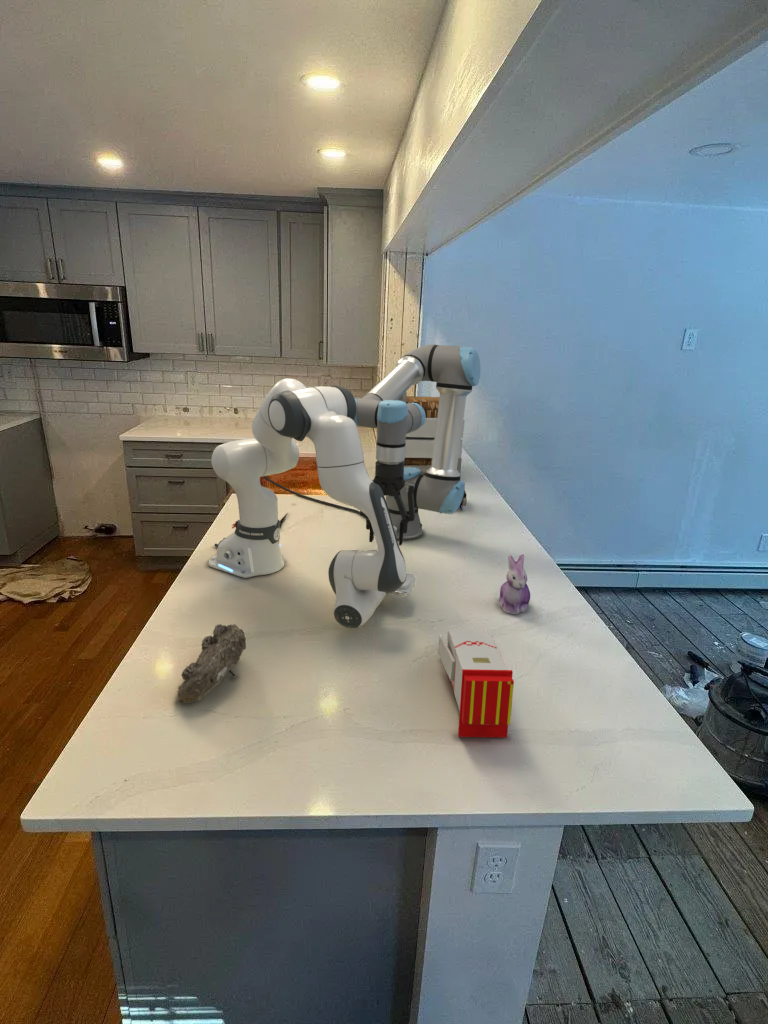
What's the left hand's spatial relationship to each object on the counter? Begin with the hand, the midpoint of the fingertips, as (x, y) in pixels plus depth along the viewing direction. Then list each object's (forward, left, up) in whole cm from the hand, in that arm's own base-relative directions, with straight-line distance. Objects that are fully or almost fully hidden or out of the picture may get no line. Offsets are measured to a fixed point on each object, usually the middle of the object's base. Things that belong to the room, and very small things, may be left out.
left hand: (385, 567), depth 159 cm
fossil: (-21, -52, -6) cm, 56 cm away
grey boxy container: (-21, +120, -6) cm, 122 cm away
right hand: (0, -1, +8) cm, 8 cm away
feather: (-52, +40, -6) cm, 65 cm away
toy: (+31, -38, -6) cm, 49 cm away
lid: (0, -1, +12) cm, 12 cm away
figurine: (+36, +3, -6) cm, 37 cm away
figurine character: (+5, +79, -6) cm, 79 cm away
